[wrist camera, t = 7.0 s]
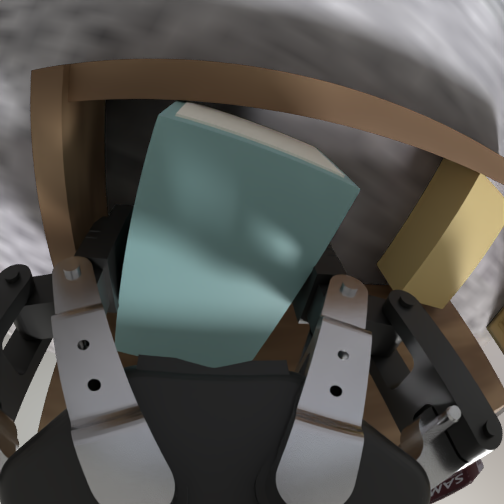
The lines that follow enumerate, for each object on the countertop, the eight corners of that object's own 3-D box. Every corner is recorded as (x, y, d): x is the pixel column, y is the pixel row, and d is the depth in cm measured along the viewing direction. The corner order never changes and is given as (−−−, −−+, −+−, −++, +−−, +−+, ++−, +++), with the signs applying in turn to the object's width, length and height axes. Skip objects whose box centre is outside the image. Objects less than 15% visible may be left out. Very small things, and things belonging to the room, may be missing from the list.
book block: (180, 96, 9) (158, 112, 6) (318, 146, 11) (361, 187, 8) (131, 285, 14) (114, 350, 10) (235, 309, 15) (242, 374, 12)
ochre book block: (444, 148, 15) (481, 170, 12) (483, 184, 16) (514, 208, 13) (374, 261, 19) (396, 296, 16) (420, 278, 21) (442, 309, 18)
